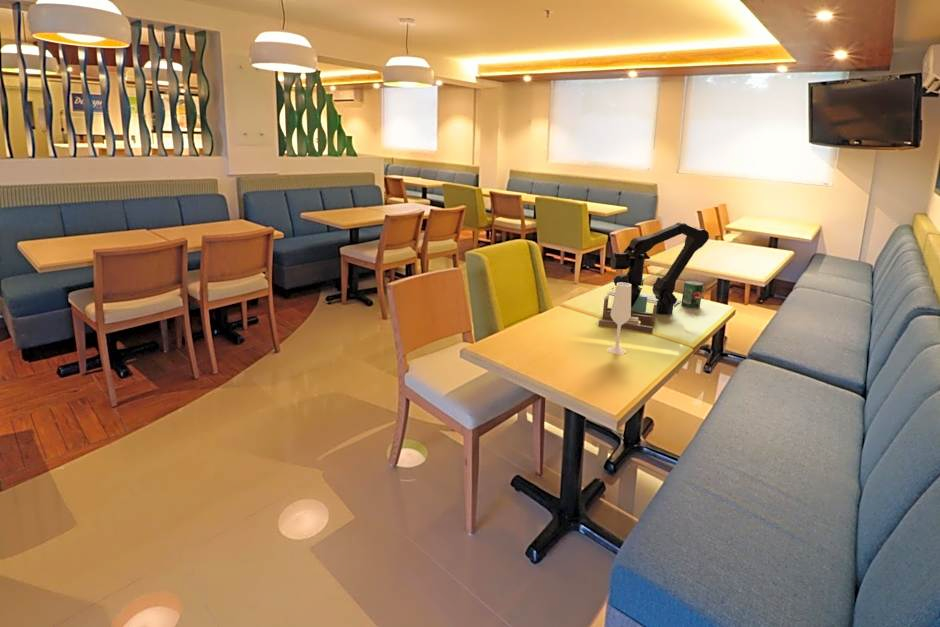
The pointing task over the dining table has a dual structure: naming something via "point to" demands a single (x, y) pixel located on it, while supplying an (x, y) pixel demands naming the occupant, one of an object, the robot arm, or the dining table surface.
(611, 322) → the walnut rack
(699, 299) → the canned tomato
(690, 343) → the dining table surface
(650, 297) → the baseboard molding
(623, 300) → the champagne flute
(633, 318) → the upper offcut
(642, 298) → the teal sheet
